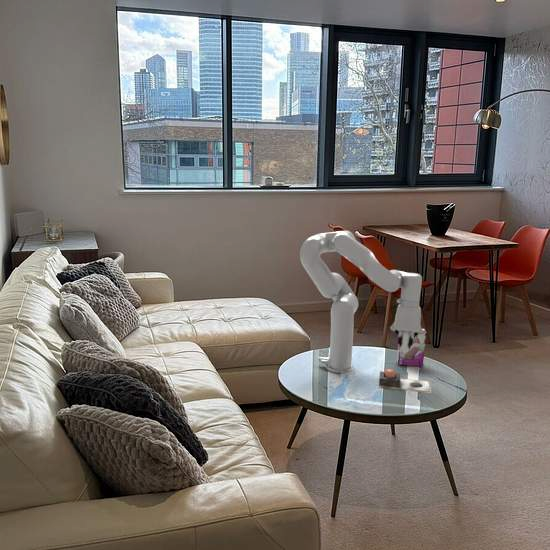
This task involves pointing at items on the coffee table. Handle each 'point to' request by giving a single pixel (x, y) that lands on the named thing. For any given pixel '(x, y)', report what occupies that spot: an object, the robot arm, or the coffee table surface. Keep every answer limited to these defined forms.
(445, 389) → the coffee table surface
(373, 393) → the coffee table surface
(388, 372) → the button
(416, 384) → the drawing board
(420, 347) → the candy bar box
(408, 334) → the cylinder
